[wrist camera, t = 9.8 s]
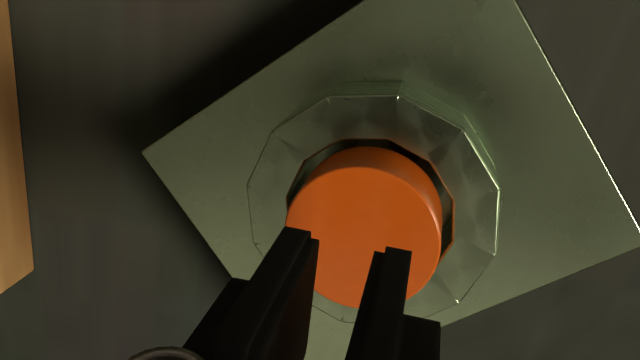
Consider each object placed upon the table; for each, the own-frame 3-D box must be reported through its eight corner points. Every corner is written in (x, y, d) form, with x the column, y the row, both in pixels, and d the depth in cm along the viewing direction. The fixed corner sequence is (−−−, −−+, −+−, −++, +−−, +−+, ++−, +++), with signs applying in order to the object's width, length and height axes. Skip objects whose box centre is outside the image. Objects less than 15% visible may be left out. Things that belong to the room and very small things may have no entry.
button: (393, 118, 15) (386, 136, 13) (469, 241, 15) (471, 273, 14) (273, 188, 16) (254, 212, 15) (348, 297, 17) (337, 331, 15)
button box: (471, -72, 16) (477, -83, 12) (627, 212, 18) (672, 276, 14) (170, 133, 20) (108, 170, 17) (320, 345, 22) (294, 419, 19)
